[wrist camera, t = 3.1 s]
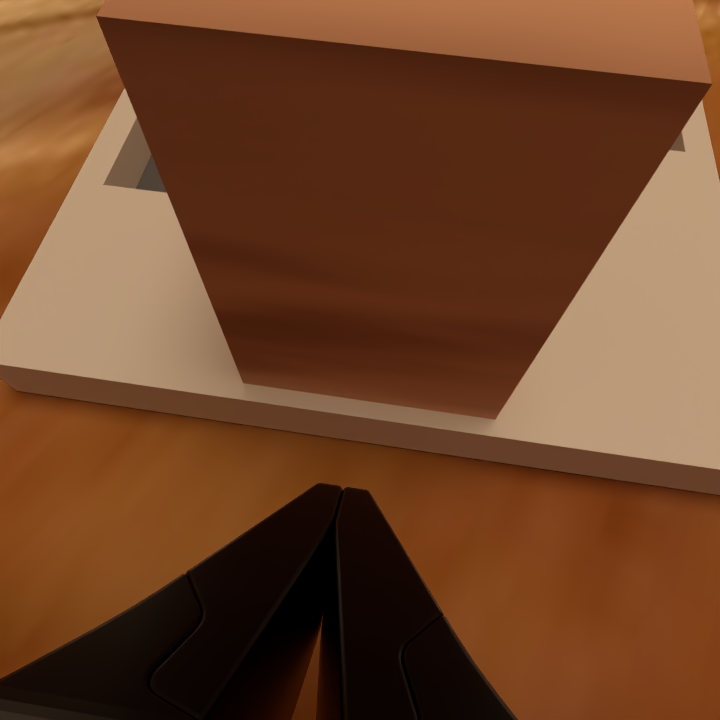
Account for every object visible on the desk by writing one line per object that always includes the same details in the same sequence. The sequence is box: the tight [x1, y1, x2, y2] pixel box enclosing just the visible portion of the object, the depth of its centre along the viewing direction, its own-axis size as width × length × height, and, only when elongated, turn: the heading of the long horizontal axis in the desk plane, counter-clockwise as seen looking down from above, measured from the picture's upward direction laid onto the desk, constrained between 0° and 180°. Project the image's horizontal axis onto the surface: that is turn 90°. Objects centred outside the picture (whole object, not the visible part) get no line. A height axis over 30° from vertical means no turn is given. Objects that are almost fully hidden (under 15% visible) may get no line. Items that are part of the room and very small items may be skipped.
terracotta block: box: [96, 0, 712, 420], centre depth 12 cm, size 7×7×10 cm
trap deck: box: [0, 89, 720, 495], centre depth 20 cm, size 17×22×2 cm
